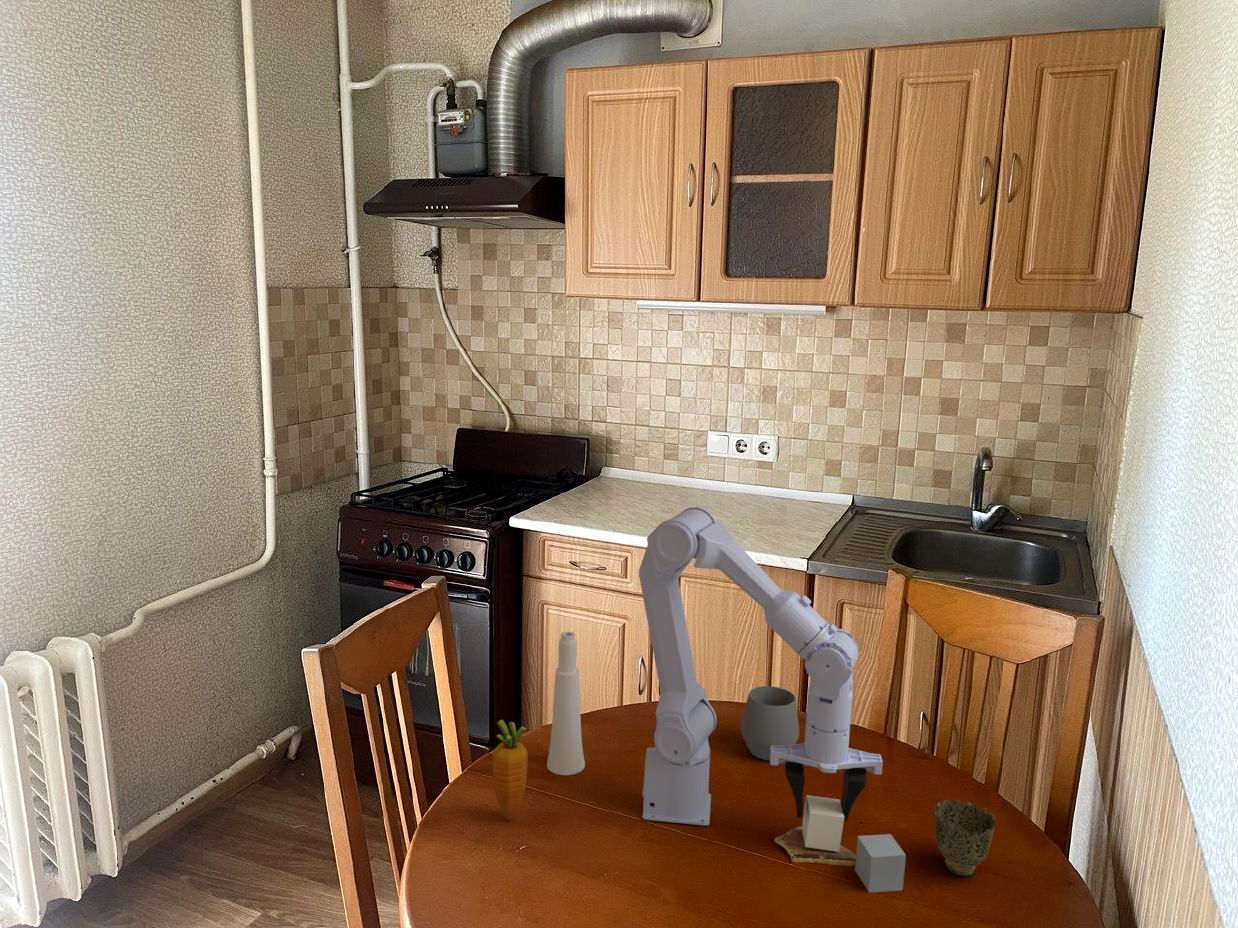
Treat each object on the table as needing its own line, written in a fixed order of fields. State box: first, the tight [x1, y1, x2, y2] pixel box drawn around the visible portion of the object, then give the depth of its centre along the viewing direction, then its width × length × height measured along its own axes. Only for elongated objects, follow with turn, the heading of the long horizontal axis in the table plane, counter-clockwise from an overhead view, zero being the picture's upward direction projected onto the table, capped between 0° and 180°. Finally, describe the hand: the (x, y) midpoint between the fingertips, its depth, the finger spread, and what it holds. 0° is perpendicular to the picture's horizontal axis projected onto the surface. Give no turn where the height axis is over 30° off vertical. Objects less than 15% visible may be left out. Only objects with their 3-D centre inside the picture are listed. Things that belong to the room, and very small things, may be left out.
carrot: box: [491, 719, 529, 822], centre depth 125 cm, size 5×5×15 cm
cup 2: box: [934, 798, 996, 877], centre depth 117 cm, size 8×7×8 cm
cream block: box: [801, 794, 845, 852], centre depth 121 cm, size 4×4×5 cm
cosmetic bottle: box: [546, 631, 586, 776], centre depth 140 cm, size 6×6×22 cm
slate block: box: [854, 833, 907, 893], centre depth 115 cm, size 4×4×5 cm
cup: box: [740, 685, 800, 761], centre depth 146 cm, size 10×9×10 cm
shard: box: [774, 826, 856, 867], centre depth 120 cm, size 11×8×2 cm
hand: (821, 815), depth 121 cm, fingers open, 5 cm apart
